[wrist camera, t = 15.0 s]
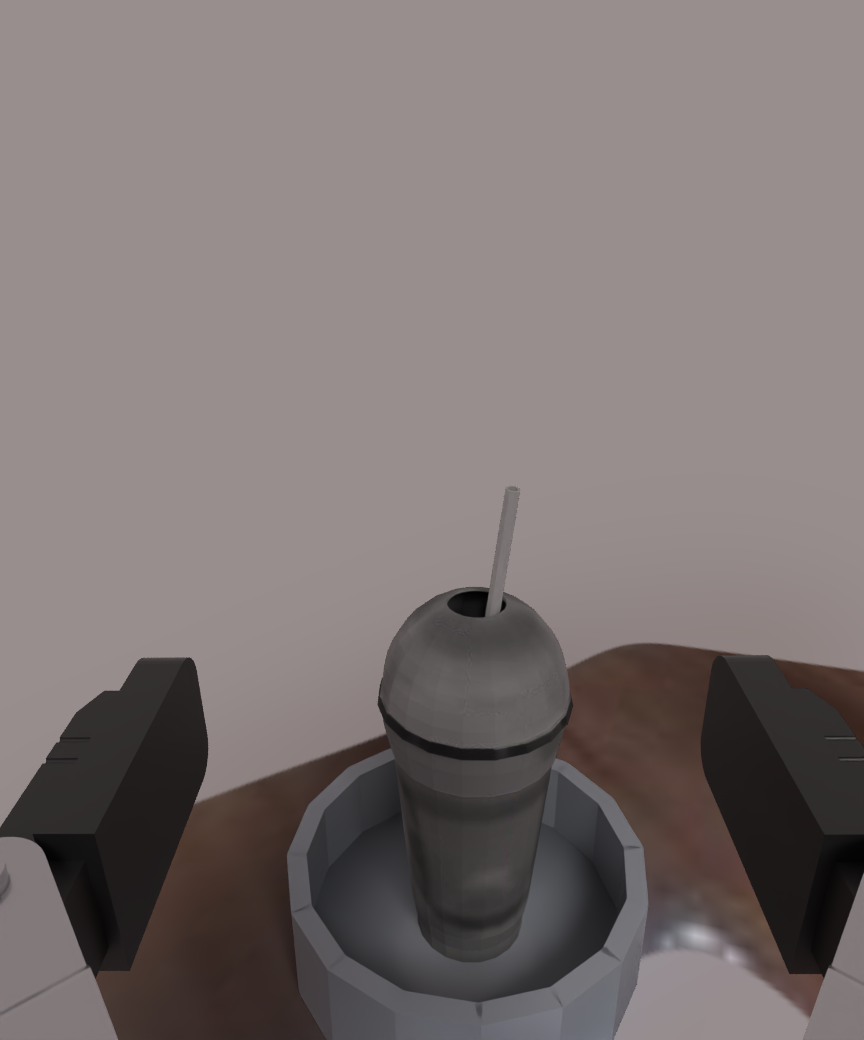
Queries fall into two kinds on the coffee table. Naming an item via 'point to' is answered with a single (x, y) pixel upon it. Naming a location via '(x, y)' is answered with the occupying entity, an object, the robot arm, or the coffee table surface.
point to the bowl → (450, 983)
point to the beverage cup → (474, 754)
